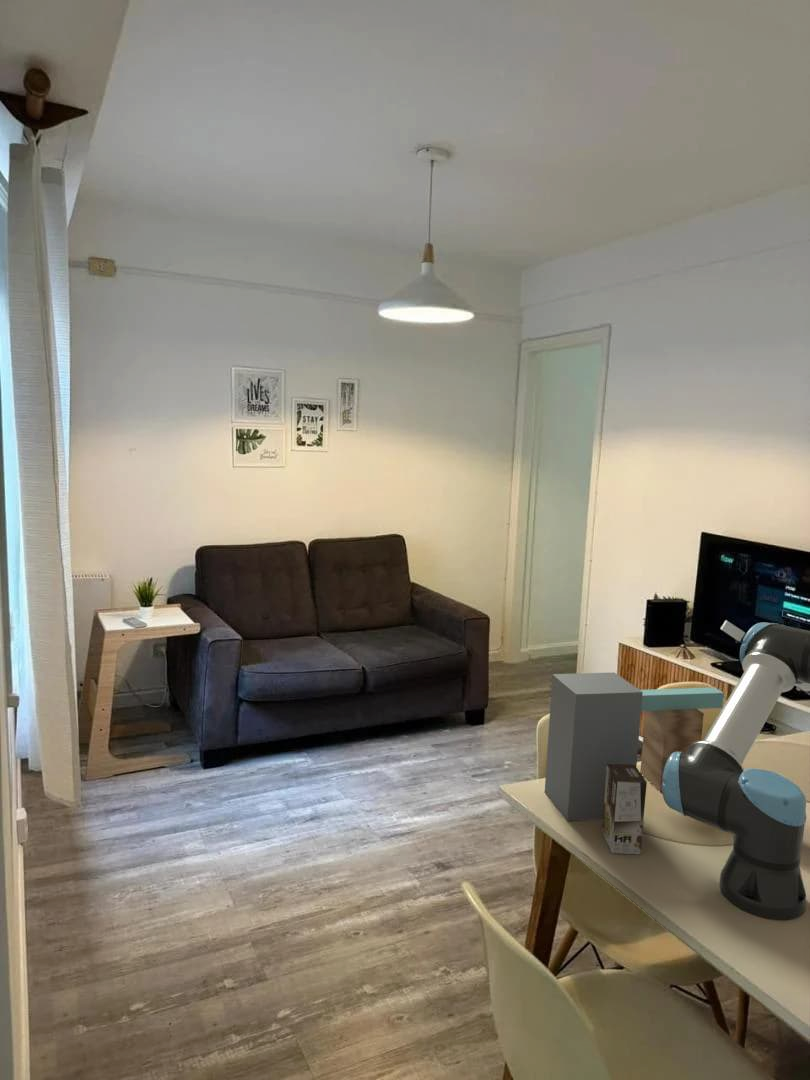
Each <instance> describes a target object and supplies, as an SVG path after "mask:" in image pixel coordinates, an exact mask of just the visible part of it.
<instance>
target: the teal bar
mask: <svg viewBox="0 0 810 1080" xmlns="http://www.w3.org/2000/svg"><path fill="white" fill-rule="evenodd" d="M639 690H640V691H642V692H643V695H642V707H641V712H645V711H659V710H684V709H698V710H706V709H722V708H723V706H724V696H725V695H724V694H725V692H723V691H722V690H720V689H718V688H717V687H694V688H693V687H690V688H661V689H658V688H657V689H656V688H655V689H639Z"/></svg>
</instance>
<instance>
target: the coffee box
mask: <svg viewBox="0 0 810 1080" xmlns="http://www.w3.org/2000/svg"><path fill="white" fill-rule="evenodd" d="M647 784H648V781H647V780H646V779H645V778H644V777H643V776H642V775H641V773H640V769H638V768H637V766H635V765H631V764H607V769H606V782H605V797H604V812H603V819H602V828H601V833H602V835H603V837H604V840H605V841H606V844H607V845H608V848H609V850H610V852H611V853H612V854H623V855H624V854H625V855H638V856H639V855H641V852H642V851H641V850H642V840H643V831H644V829H643V827H644V816H645V807H646V806H645V805H646V796H647Z"/></svg>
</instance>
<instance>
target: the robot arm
mask: <svg viewBox="0 0 810 1080" xmlns="http://www.w3.org/2000/svg"><path fill="white" fill-rule="evenodd" d="M720 630H721V631H723V632H724V633H726V634H727V635H729V636H730V637H732V638H733V639H734V640H735V643H736V644H738V643H740V644H741V645H740V649H739V661H740V664H741V666H742V670H743V673H742V675H741V677H740V678H739V680H738V682H737V683H736V685H735V687H733V690H732V692H731V693H730V695H729V697H728V699H727V700H726V702H725V703H724V704H723V707H722V708H721V710H720V712H719V713H718V715H717V717H716V719H714V721H713V723H712V725H711V726H710V728H709V729H708V731H707V733H706V735H705V736H704V738H703V739H702V740H701V742H695V743H693V744H692V745H691V746H690V747H689V749H688V751H687V752H686V753H685V754H684V753H683V752H681V751H680V752H673V753H672V754H671V755H670V757H669V758H668V760H667V763H666V765H665V769H664V773H663V781H662V792H661V793H662V798H663V800H664V802H665V804H666V805H667V807H669V809H671V810H673V811H676V812H678V813H680V814H682V816H684V817H688V818H691V819H693V820H696V821H699V822H701V823H703V824H707V825H709V826H711V827H713V828H716V829H718V830H721V831H724V832H726V833H728V834H730V835H732V836H733V845H732V850H731V852H730V853H729V856H728V857H727V860H726V862H725V864H724V865H723V867H722V869H721V872H720V875H719V883H718V884H719V889H720V892H721V894H722V895H723V896H724V897H725V898H726V899H727V900H728V901H729V902H730V903H732V904H733V905H734V906H735V907H737V908H739V909H741V910H743V911H746V912H747V913H750V914H752V915H756V916H758V917H760V918H761V917H762V918H765V919H772V920H781V921H782V920H783V921H784V920H791V919H792V920H793V919H796V918H798V917H800V916H802V915H803V914H804V912H805V911H806V905H807V893H806V888H805V885H804V881H803V876H802V873H801V867H800V865H801V857H802V856H801V855H802V849H803V848H802V847H803V841H804V832H805V825H806V824H805V823H806V822H807V813H806V811H807V799H806V796H805V794H804V792H803V791H802V790H801V788H800V787H799V786H798V785H797V784H796V783H794V782H793V780H792V781H791V780H790V778H788V779H787V777H786V776H785V777H786V778H785V777H783V776H781V775H778V774H776V773H773V772H770V771H771V770H770V771H767V770H768V769H766V770H764V771H761V770H760V769H761V768H756V769H755V768H746V769H747V770H746V769H744V767H743V763H744V761H745V759H746V757H747V755H748V754H749V752H750V751H751V748H752V746H753V745H754V743H755V741H756V740H757V737H758V736H759V734H760V732H761V731H762V729H763V727H764V725H765V723H766V722H767V719H768V717H769V716H770V714H771V713H772V711H773V709H774V707H775V705H776V704H777V702H778V700H779V698H780V697H781V694H782V693H786V692H789V691H791V690H793V688H794V687H796V688H795V689H796V690H797V691H799V692H800V691H803V692H805V693H806V694H808V695H809V696H810V630H806V629H803V628H797V627H792V626H787V625H782V624H780V623H777V622H776V623H775V622H764V621H763V622H762V621H761V622H757V623H756V624H754V625H752V626H751V627H750V628H749V629H748V631H747V632H745V631H744V630H742V629H740V628H739V627H737V626H736V625H735V624H733V623H732V622H729V621H728V620H727V619H726V620H724V622H723V624H722V625H721V626H720ZM744 770H745V771H744Z"/></svg>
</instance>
